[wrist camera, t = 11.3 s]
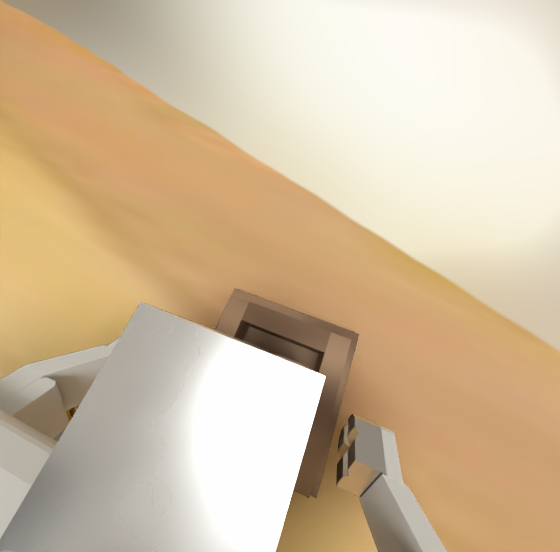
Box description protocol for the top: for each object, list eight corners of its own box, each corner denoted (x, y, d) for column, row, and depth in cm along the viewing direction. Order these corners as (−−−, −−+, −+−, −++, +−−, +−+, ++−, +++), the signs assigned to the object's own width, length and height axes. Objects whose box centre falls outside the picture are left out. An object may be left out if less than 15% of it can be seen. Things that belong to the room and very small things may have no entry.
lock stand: (314, 490, 17) (323, 535, 12) (176, 421, 19) (143, 440, 14) (355, 335, 20) (373, 329, 16) (236, 291, 22) (224, 275, 18)
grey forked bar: (282, 413, 18) (242, 735, 3) (234, 392, 18) (-21, 550, 3) (299, 362, 19) (336, 381, 4) (253, 344, 19) (132, 298, 4)
